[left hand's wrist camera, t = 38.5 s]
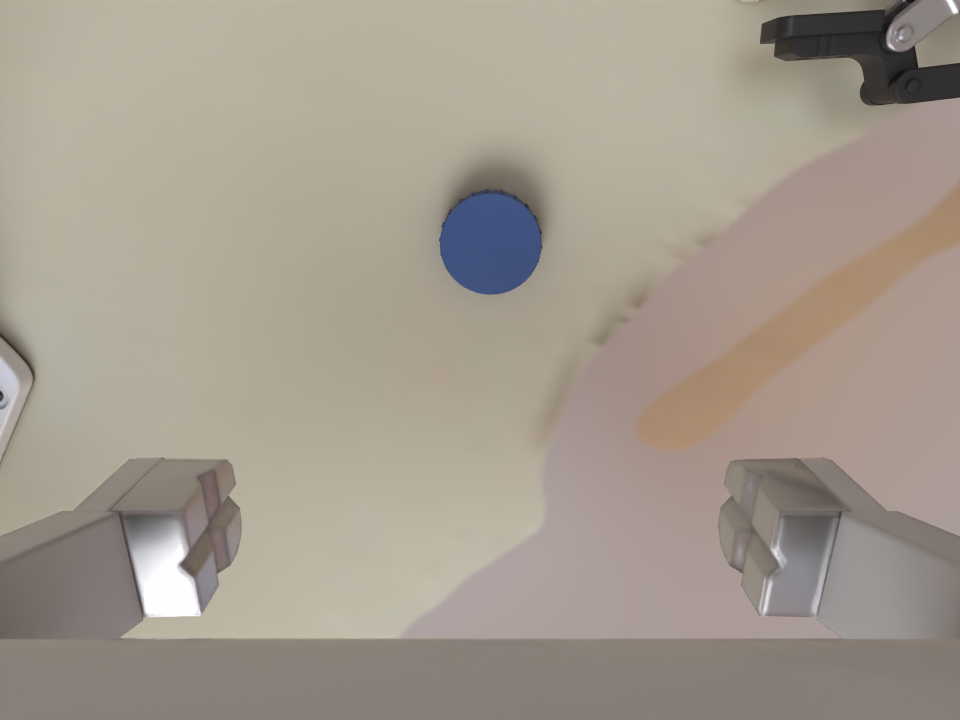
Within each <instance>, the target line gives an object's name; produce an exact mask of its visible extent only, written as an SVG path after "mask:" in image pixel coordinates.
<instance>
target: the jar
mask: <svg viewBox="0 0 960 720" xmlns="http://www.w3.org/2000/svg"><path fill="white" fill-rule="evenodd" d="M740 1H744V2H758V1H763V0H740Z"/></svg>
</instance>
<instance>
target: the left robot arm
mask: <svg viewBox="0 0 960 720" xmlns="http://www.w3.org/2000/svg"><path fill="white" fill-rule="evenodd" d="M32 383H33V376H32V373H31V371H30V369H29V367H28V366H27V364H26V363H25V362H24V360H23V359H22V358H21V357H20V356H19V355H18V354H17V353H16V352H15V351H14V350H13V349H12V348H11V347H10V346H9V345H8V344H7V343H6V342H5V341H4V340H3V339H2V338H1V337H0V391H1V392H2V393H3V395H2V394H0V461H1V459H2V457H3V454H4V452H5V449H6V447H7V445H8V442H9V440H10V437H11V435H12V433H13V430H14V428H15V425H16V423H17V421H18V418H19V416H20V413H21V411H22V409H23V406H24V404H25V401H26V399H27V397H28V394H29V392H30V389H31V387H32ZM235 485H236V482H235V477H234V471H233V466H232V465H231V464H230V463H229V461H228V460H225V459H171V458H168V459H165V458H137V459H129V460H128V461H127V462H126V463H125V464H124V465H123V466H122V467H120V468H119V469H118V470H117V471H116V472H115V473H114V474H113V475H112V476H111V477H109V478H108V479H107V480H106V481H105V482H104V483H103V484H102V485H101V486H100V487H99V488H97V489H96V490H95V491H94V492H93V493H92V494H91V495H90V496H89V497H88V498H86V499H85V500H84V501H83V502H82V503H81V504H80V505H79V506H78V507H77V508H75V509H74V510H73V511H66V512H60V513H57V514H55V515H52V516H50V517H47V518H45V519H42V520H40V521H37V522H35V523H32V524H30V525H27V526H25V527H22V528H20V529H18V530H15V531H13V532H10V533H8V534H5V535H3V536H0V720H960V536H957V535H955V534H952V533H950V532H947V531H945V530H942V529H940V528H937V527H935V526H932V525H930V524H928V523H925V522H923V521H920V520H918V519H915V518H913V517H910V516H908V515H905V514H903V513H900V512H893V511H887V510H886V509H885V508H883V507H882V506H881V505H880V504H879V503H878V502H877V501H876V500H875V499H874V498H873V497H871V496H870V495H869V494H868V493H867V492H866V491H865V490H864V489H863V488H862V487H861V486H859V485H858V484H857V483H856V482H855V481H854V480H853V479H852V478H851V477H850V476H849V475H847V474H846V473H845V472H844V471H843V470H842V469H841V468H840V467H839V466H838V465H836V464H835V463H834V462H833V461H832V460H830V459H826V458H803V459H798V458H789V459H748V460H734V461H730V463H729V466H728V468H727V470H726V475H725V482H724V485H725V486H726V488H727V489H728V491H729V492H730V494H731V495H732V496H731V497H730V498H729V499H728V500H727V501H726V502H725V503H724V504H723V506H722V507H721V508H720V515H719V524H718V528H719V538H720V544H721V547H722V551H723V554H724V556H725V558H726V560H727V561H728V563H729V565H730V566H731V567H733V568H735V569H736V570H738V571H739V572H741V573H743V576H742V582H741V586H742V587H743V589H744V591H745V593H746V594H747V596H748V598H749V599H750V601H751V603H752V604H753V606H754V608H755V609H756V611H757V613H758V615H759V616H786V617H817V620H818V621H819V622H820V623H822V624H823V625H824V626H826V627H827V628H828V629H830V630H831V631H832V632H834V633H835V634H836V635H838V636H839V637H840V638H842V639H118V638H120V637H121V636H122V635H124V634H125V633H127V632H128V631H129V630H131V629H132V628H133V627H135V626H136V625H137V624H139V623H140V622H141V621H143V617H173V616H201V615H202V613H203V611H204V610H205V608H206V606H207V604H208V603H209V601H210V599H211V598H212V596H213V594H214V593H215V591H216V589H217V587H218V586H219V582H218V576H217V573H219V572H221V571H222V570H224V569H225V568H227V567H229V566H230V565H231V563H232V561H233V559H234V558H235V556H236V554H237V551H238V547H239V543H240V539H241V514H240V508H239V507H238V506H237V504H236V503H235V502H234V501H233V500H232V499H231V498H230V497H229V496H228V495H229V494H230V492H231V491H232V489H233V488H234V486H235Z"/></svg>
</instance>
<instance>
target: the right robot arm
mask: <svg viewBox="0 0 960 720" xmlns="http://www.w3.org/2000/svg"><path fill="white" fill-rule="evenodd" d="M959 12H960V0H895V1H894V2H893V3H892V4H891V5H889V6H888V7H887V8H886V9H884V10H873V11H857V12H841V13H825V14H809V15H793V16H785V17H779V18H776V19H773V20H771V21H768V22H765V23H763V24H762V28H761V38H760V44H772V43H775V51H774V57H777V58H780V59H782V60H785V61H796V60H811V59H829V58H852V59H855V60H856V61H857V62H858V63H859V64H860V65H861V67H862V70H863V75H864V80H865V81H864V82H863V84H862V86H861V89H860V97H861V100H862V101H863V102H864V103H865V104H867V105H871V106H872V105H885V104H893V103H898V104H908V103H917V102H926V101H934V100H942V99H951V98H959V97H960V63H956V64H948V65H940V66H931V67H923V68H918V63H917V57H916V51H915V45H916V44H917V43H918V42H920V41H921V40H922V39H923V38H925V37H926V36H927V35H929V34H930V33H931V32H932V31H934V30H935V29H936V28H938V27H939V26H940V25H941V24H943V23H944V22H945V21H947V20H948V19H949V18H951V17H952V16H953V15H955V14H957V13H959Z"/></svg>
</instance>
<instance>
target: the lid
mask: <svg viewBox="0 0 960 720" xmlns="http://www.w3.org/2000/svg"><path fill="white" fill-rule="evenodd" d="M448 214H449V215H448V217H447V219H446V221H445V222H444V223H443V224H442V227H443V229H442V233H441V237H440V239H439V241H440V250H441V256H442V259H443V262H444V264H445V267H446V269H447V270H448V272H449V273H450V275H451V276H452V277H453V278H454V279H455V280H456V281H457V282H458V283H459V284H460V285H462V286H463V287H465V288H467V289H469V290H471V291H474V292H476V293H481V294H489V295H491V294H501V293H505V292H508V291H510V290H512V289H515V288H516V287H518V286H519V285H521V284H522V283H523V282H525V281H526V280H527V278H528V277H529V276H530V275H531V274H532V272H533V271H534V269H535V267H536V265H537V263H538V262H539V257H540V253H541V249H542V245H541V235H540V234H542V233H541V230H540V229H539V227H538V225H537V222H536V220H537V218H536V216H535V215H534V216H533V214H532V213H531V211H530V210H529V207H528V205H527V204H524V203H523V202H522V201H520V200H519V199H518V198H517V196H516V195H514V196H512V195H510V194H508V193H505V192H503V190H501V191H493V190H490V191H488V189H486V191H481V192H477V193H474V192H472V194H471V195H470V196H467V197H466V198H464V199H463V200H462V199H460V200H459V202H458V204H457V205H456V206H455V207H454V208H453V209H452V210H451V209H450V211H449V213H448Z"/></svg>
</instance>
